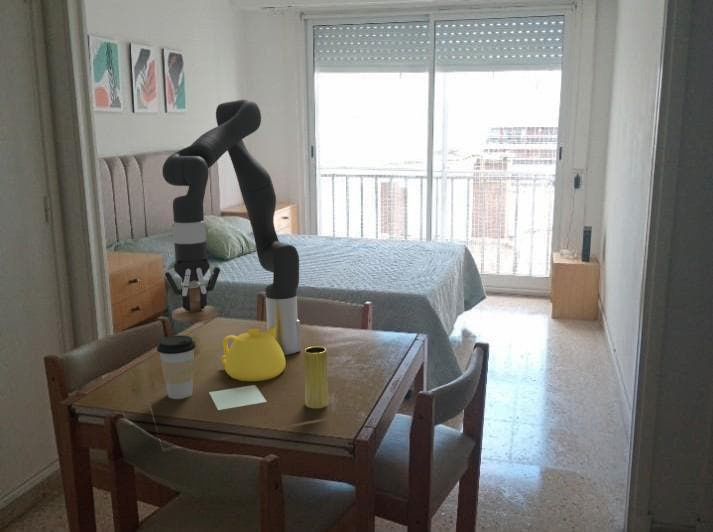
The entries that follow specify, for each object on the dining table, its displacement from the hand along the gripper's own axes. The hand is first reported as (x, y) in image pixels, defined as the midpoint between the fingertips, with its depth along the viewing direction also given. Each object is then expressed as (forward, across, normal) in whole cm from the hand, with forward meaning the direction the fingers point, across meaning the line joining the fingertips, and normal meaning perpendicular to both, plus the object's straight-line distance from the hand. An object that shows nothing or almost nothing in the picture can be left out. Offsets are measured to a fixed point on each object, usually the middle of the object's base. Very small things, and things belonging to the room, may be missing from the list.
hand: (194, 308), depth 168 cm
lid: (+2, 0, 0) cm, 2 cm away
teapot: (+24, -18, -13) cm, 32 cm away
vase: (+23, -25, +17) cm, 38 cm away
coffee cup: (+24, +4, -4) cm, 24 cm away
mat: (+23, -8, +5) cm, 25 cm away
